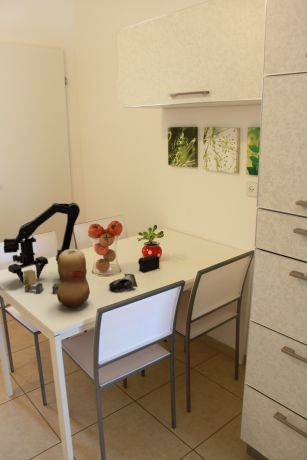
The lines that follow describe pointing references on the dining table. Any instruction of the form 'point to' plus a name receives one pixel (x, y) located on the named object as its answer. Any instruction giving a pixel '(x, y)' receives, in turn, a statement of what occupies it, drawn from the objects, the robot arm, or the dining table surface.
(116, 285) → the caster wheel
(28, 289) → the shaft rig
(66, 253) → the butternut squash
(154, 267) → the digital camera
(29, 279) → the coupler
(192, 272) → the dining table surface
